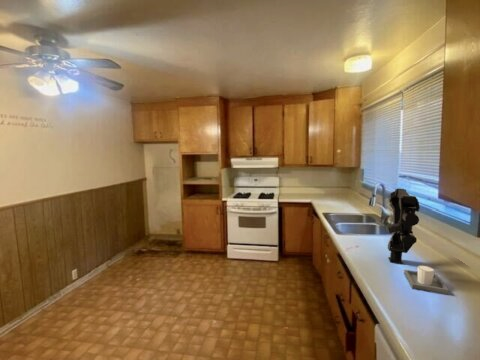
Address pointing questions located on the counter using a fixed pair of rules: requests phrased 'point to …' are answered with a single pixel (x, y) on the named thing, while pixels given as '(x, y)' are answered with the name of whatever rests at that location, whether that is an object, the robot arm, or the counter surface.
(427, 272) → the cream cup
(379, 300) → the counter surface
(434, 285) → the tray
